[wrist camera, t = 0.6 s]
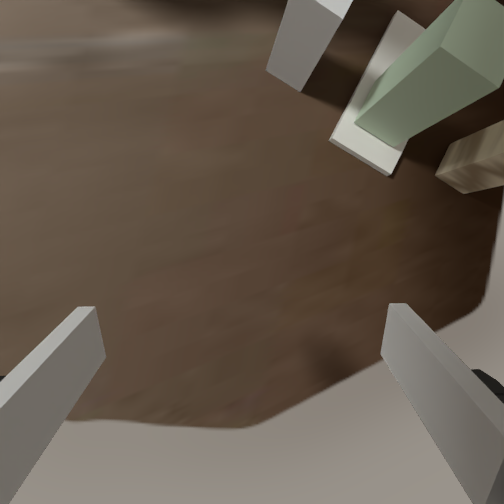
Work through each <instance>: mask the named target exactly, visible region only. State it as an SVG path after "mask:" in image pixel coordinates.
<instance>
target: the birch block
mask: <svg viewBox="0 0 504 504" xmlns="http://www.w3.org/2000/svg"><path fill="white" fill-rule="evenodd" d="M435 176H436V177H437V178H439V179H440V180H442V181H444V182H445V183H447V184H448V185H450V186H452V187H453V188H455V189H456V190H458V191H460V192H461V193H463V194H466V193H471V192H475V191H480V190H484V189H489V188H493V187H498V186H502V185H504V120H503V121H500V122H498V123H496V124H494V125H491V126H489V127H487V128H485V129H482V130H480V131H478V132H476V133H473V134H471V135H469V136H466V137H464V138H462V139H460V140H457V141H455V142H453V143H451V144H450V145H449V147H448V149H447V151H446V153H445V155H444V157H443V159H442V161H441V163H440V166H439V168H438V170H437V172H436V174H435Z"/></svg>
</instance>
